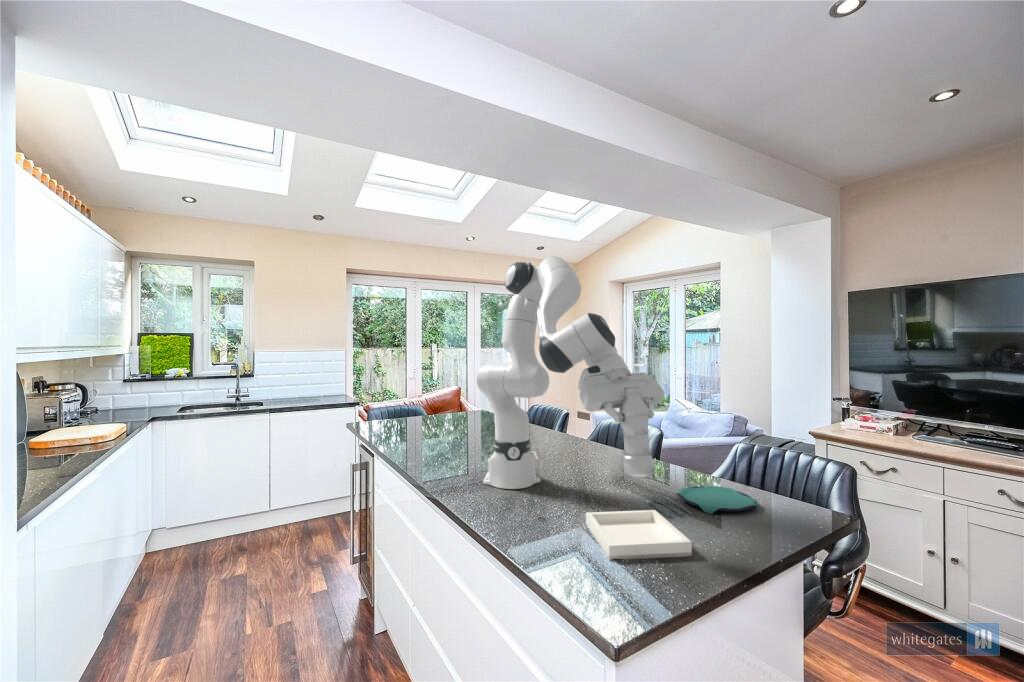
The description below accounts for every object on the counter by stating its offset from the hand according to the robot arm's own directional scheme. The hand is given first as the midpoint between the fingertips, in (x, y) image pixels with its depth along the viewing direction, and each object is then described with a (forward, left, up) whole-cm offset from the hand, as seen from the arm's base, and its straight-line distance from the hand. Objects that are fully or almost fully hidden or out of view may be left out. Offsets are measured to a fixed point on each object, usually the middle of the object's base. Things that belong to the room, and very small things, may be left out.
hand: (635, 418), depth 98 cm
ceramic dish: (-1, 0, -28) cm, 28 cm away
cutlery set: (-22, +27, -29) cm, 45 cm away
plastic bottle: (+1, 0, -13) cm, 13 cm away
